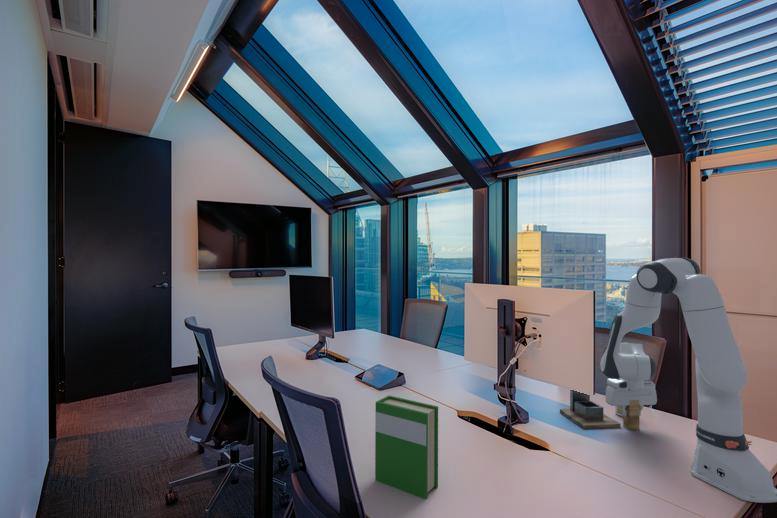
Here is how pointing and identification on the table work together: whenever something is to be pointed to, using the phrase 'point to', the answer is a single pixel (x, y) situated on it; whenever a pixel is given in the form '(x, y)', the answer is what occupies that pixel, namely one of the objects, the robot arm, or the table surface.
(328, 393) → the table surface
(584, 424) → the walnut base board
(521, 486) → the table surface
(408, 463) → the hardback book
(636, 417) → the oak rail end
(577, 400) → the grey open holder
